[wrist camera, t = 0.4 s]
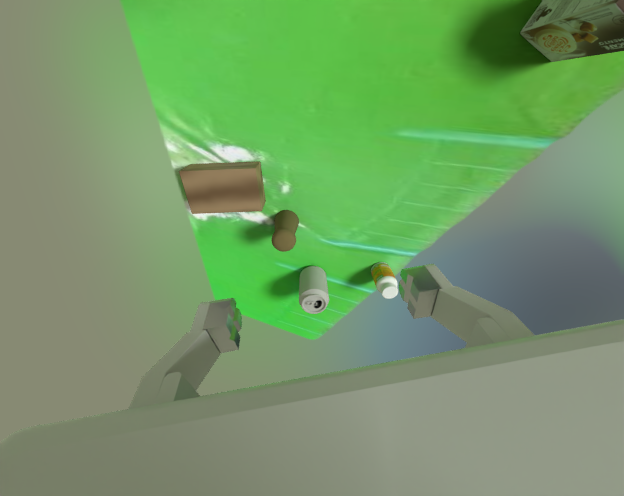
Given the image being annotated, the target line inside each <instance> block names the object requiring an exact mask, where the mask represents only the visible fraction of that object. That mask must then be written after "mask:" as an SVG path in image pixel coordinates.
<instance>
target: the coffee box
mask: <svg viewBox="0 0 624 496" xmlns="http://www.w3.org/2000/svg"><path fill="white" fill-rule="evenodd" d="M520 34H521V35H522V36H523V37H524V38H525V39H526V40H527V41H528V42H530V43H531V44H532V45H533V46H534V47H535V48H536V49H537V50H539V51H540V52H541V53H542V54H543V55H544V56H546V57H547V58H548V59H549V60H550V61H551V62H555V61H561V60H567V59H574V58H580V57H586V56H593V55H599V54H605V53H612V52H618V51H624V0H542V2H541V3H540V5H539V6H538V8H537V9H536V10H535V12H534V13H533V15H532V16H531V17H530V19H529V20H528V22H527V23H526V25H525V26H524V27H523V29H522V30H521V32H520Z"/></svg>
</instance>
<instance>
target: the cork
mask: <svg viewBox="0 0 624 496" xmlns="http://www.w3.org/2000/svg"><path fill="white" fill-rule="evenodd" d="M274 222H275V232H274V234H273V236H272V244H273V246H274V247H275V248H276V249H277V250H279V251H289V250H291V249H292V248H293V247H294V245H295V243H296V237H295V232H296V230H297V227H298V224H299V219H298V217H297V215H296V214H295V213H294V212H292V211H289V210H283V211H280V212H279V213H277V215H276V216H275V220H274Z"/></svg>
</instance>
